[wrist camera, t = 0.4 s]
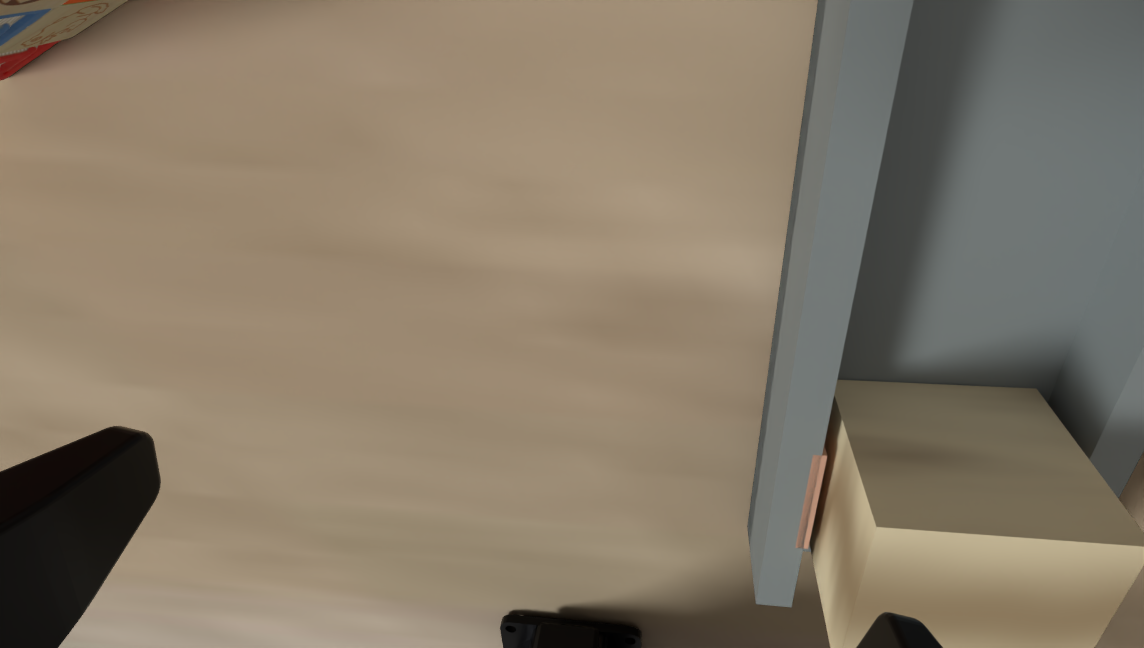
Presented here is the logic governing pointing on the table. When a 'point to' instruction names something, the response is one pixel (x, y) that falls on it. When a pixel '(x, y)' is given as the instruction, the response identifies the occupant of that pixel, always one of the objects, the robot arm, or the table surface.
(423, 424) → the table surface
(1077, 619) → the block
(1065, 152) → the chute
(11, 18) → the stack of blocks
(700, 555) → the table surface
